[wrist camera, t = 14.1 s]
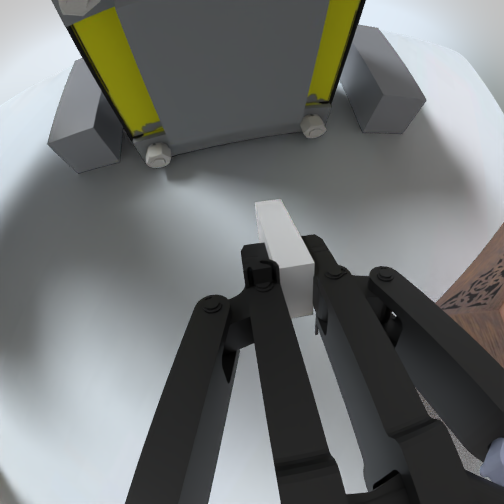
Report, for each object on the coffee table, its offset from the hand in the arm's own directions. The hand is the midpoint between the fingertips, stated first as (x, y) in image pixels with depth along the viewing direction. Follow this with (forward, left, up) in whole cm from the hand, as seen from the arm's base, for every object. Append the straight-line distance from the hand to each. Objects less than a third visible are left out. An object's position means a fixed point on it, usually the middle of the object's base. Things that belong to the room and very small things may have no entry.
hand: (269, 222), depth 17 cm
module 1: (-15, +16, -6) cm, 23 cm away
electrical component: (-1, +14, -7) cm, 15 cm away
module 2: (+14, +16, -6) cm, 22 cm away
